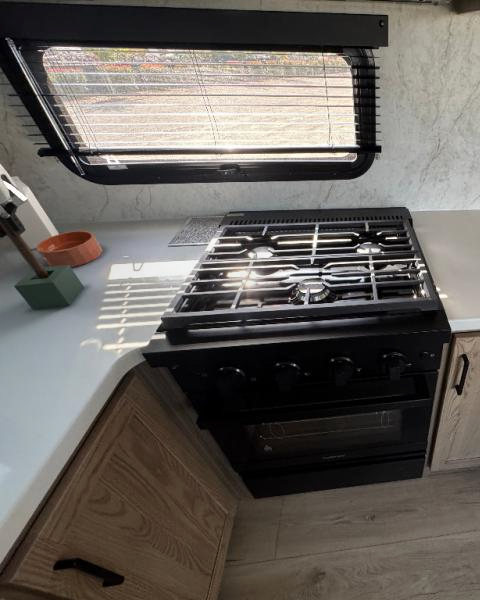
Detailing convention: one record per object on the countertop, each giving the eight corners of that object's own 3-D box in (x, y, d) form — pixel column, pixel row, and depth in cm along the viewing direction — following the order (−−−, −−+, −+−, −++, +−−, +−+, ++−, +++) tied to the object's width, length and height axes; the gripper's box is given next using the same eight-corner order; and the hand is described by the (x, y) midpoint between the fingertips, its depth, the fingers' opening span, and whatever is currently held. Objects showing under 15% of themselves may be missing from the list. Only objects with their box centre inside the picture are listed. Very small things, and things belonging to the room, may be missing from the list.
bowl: (39, 272, 90) (25, 254, 86) (63, 250, 99) (51, 232, 95) (92, 267, 92) (81, 249, 89) (110, 246, 101) (100, 229, 98)
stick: (39, 282, 77) (-16, 210, 66) (44, 278, 78) (-10, 206, 68) (49, 281, 77) (-5, 209, 67) (53, 277, 79) (1, 206, 68)
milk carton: (58, 244, 101) (15, 180, 89) (26, 251, 98) (-23, 185, 86) (60, 235, 106) (19, 172, 94) (29, 241, 102) (-17, 177, 91)
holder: (34, 311, 78) (13, 286, 73) (51, 292, 83) (32, 268, 79) (71, 307, 79) (52, 282, 75) (85, 288, 85) (69, 264, 80)
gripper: (-139, 145, 55) (-49, 247, 66) (-20, 141, 58) (47, 239, 69) (-98, 134, 61) (-21, 229, 72) (9, 131, 64) (66, 223, 75)
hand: (12, 233), depth 71 cm, fingers closed on stick, 1 cm apart
